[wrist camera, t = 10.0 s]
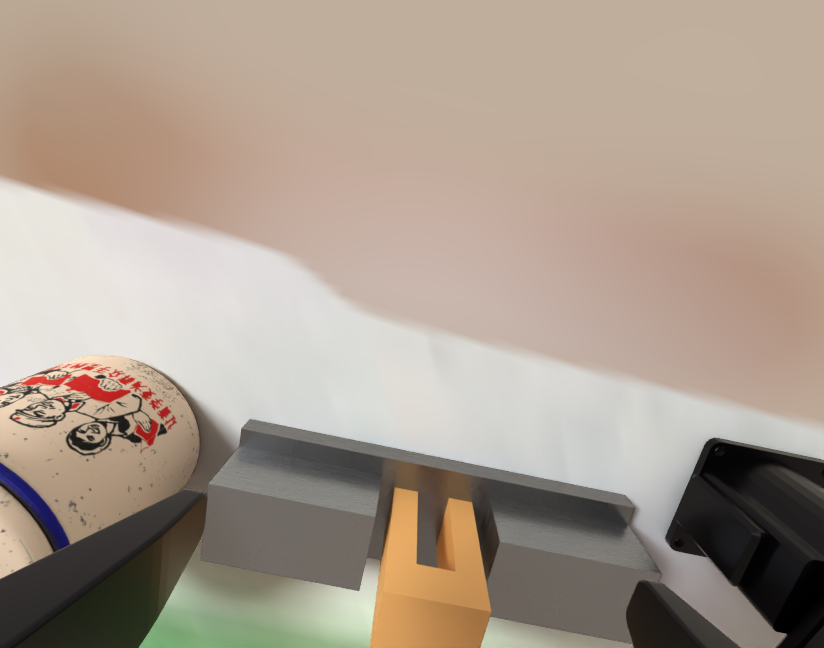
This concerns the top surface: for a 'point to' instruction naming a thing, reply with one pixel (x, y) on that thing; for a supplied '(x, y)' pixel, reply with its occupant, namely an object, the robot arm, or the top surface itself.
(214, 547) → the rail
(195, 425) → the teacup with lid
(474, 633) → the clip
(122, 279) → the top surface
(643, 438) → the top surface
